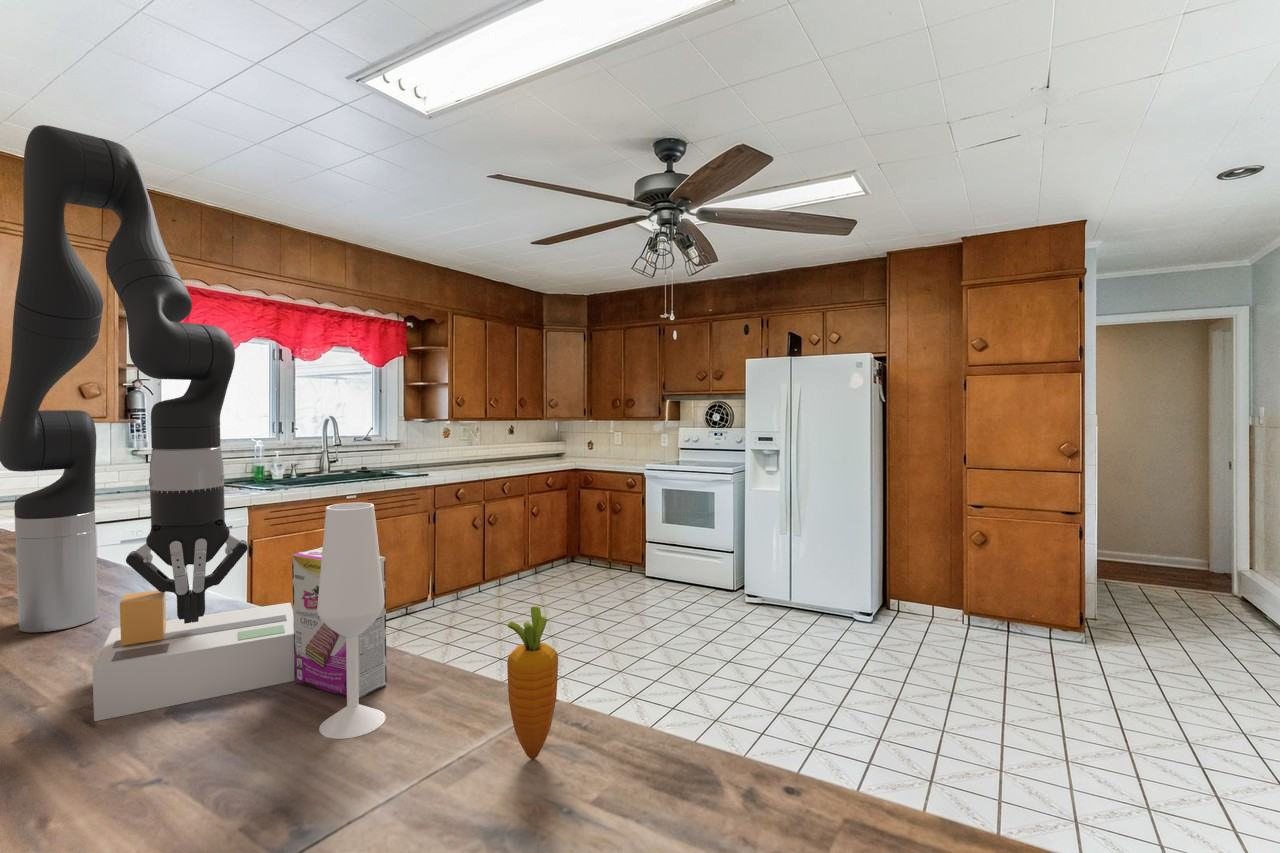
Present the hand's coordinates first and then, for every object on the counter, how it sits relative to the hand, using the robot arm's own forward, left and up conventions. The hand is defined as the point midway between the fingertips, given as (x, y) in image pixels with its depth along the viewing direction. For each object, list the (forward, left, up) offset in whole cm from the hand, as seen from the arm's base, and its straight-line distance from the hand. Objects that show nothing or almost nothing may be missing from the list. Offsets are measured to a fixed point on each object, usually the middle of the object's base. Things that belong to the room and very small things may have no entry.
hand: (191, 620), depth 80 cm
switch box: (0, +1, -8) cm, 8 cm away
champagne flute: (+22, +15, -8) cm, 28 cm away
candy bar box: (+11, +15, -8) cm, 21 cm away
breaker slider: (0, -5, -1) cm, 5 cm away
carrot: (+39, +29, -8) cm, 50 cm away
